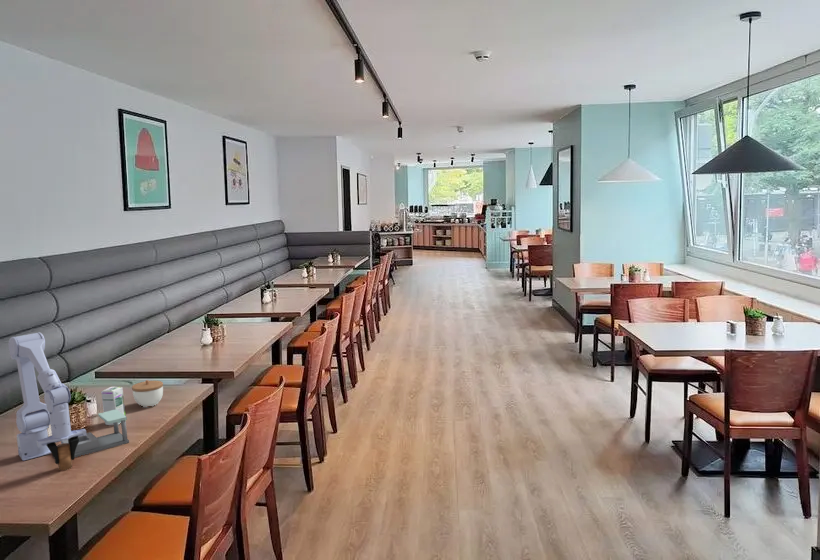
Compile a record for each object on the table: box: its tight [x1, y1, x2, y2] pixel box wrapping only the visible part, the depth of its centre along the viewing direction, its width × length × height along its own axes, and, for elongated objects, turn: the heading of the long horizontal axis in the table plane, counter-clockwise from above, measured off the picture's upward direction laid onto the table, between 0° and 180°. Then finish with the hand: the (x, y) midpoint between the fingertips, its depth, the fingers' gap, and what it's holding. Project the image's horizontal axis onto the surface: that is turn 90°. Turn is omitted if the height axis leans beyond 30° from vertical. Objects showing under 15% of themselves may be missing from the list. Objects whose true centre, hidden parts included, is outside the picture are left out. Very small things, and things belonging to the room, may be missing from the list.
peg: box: [56, 443, 73, 471], centre depth 211 cm, size 4×4×8 cm
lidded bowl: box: [131, 379, 164, 408], centre depth 273 cm, size 13×13×11 cm
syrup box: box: [100, 386, 127, 426], centre depth 252 cm, size 6×6×14 cm
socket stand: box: [60, 409, 130, 459], centre depth 228 cm, size 21×12×10 cm, turn 132°
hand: (64, 461), depth 211 cm, fingers closed on peg, 4 cm apart
